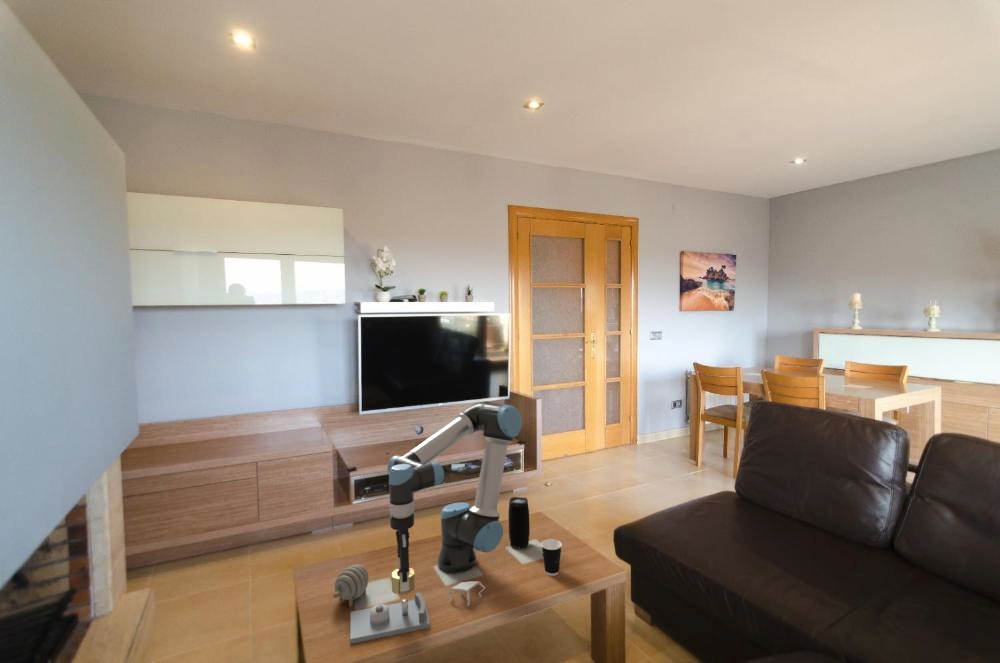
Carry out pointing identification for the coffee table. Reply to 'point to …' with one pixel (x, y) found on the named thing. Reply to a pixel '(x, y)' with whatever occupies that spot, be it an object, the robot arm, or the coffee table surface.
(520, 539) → the portable speaker
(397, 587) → the gold octagonal ring
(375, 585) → the coffee table surface
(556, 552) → the dixie cup
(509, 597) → the coffee table surface
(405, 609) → the pin
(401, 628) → the carrier plate
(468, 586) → the origami figure
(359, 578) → the toy sheep
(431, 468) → the robot arm
